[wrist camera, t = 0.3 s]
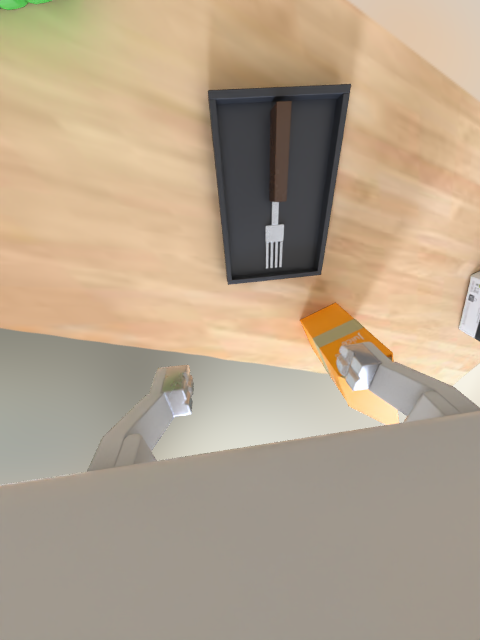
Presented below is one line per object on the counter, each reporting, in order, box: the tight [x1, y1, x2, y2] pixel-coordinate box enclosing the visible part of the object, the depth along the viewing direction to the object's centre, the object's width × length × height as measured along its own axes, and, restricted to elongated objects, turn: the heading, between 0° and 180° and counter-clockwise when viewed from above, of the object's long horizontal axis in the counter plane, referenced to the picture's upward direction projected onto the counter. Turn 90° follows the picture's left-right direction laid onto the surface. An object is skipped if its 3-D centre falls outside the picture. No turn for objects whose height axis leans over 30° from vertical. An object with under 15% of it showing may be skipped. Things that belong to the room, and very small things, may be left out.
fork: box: [265, 101, 292, 269], centre depth 27 cm, size 18×3×3 cm, turn 4°
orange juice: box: [300, 303, 399, 425], centre depth 33 cm, size 8×9×20 cm
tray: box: [208, 84, 351, 285], centre depth 28 cm, size 21×15×2 cm
